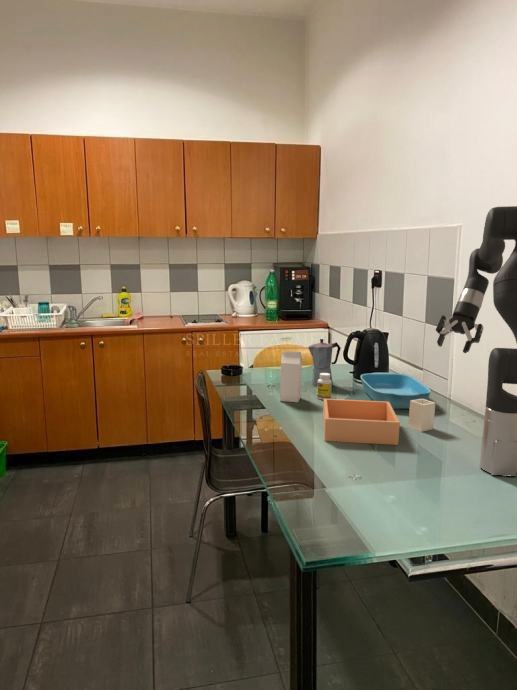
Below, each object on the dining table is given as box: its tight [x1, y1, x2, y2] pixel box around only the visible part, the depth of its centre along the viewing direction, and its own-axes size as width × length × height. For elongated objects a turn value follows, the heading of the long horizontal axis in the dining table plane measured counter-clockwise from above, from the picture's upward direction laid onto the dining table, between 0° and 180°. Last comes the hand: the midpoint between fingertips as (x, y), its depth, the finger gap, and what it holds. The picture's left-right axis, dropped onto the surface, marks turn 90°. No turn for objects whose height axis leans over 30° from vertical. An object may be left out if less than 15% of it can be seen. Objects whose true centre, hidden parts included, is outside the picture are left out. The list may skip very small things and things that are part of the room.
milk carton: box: [279, 350, 303, 403], centre depth 204 cm, size 7×7×19 cm
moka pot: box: [307, 338, 341, 387], centre depth 227 cm, size 10×15×20 cm, turn 115°
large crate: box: [322, 398, 401, 446], centre depth 172 cm, size 22×22×7 cm
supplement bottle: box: [316, 373, 333, 401], centre depth 208 cm, size 5×5×10 cm
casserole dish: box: [359, 372, 431, 410], centre depth 209 cm, size 37×22×7 cm, turn 2°
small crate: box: [407, 399, 436, 433], centre depth 176 cm, size 6×6×9 cm
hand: (451, 349), depth 178 cm, fingers open, 8 cm apart
